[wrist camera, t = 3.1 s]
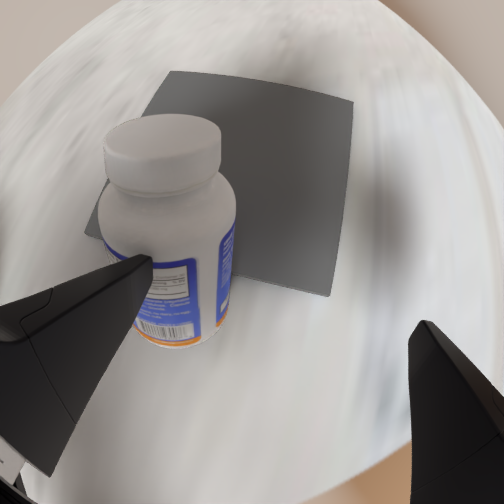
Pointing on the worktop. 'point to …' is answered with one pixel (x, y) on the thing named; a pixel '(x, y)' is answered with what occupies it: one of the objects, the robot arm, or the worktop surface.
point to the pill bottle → (171, 222)
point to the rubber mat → (272, 171)
